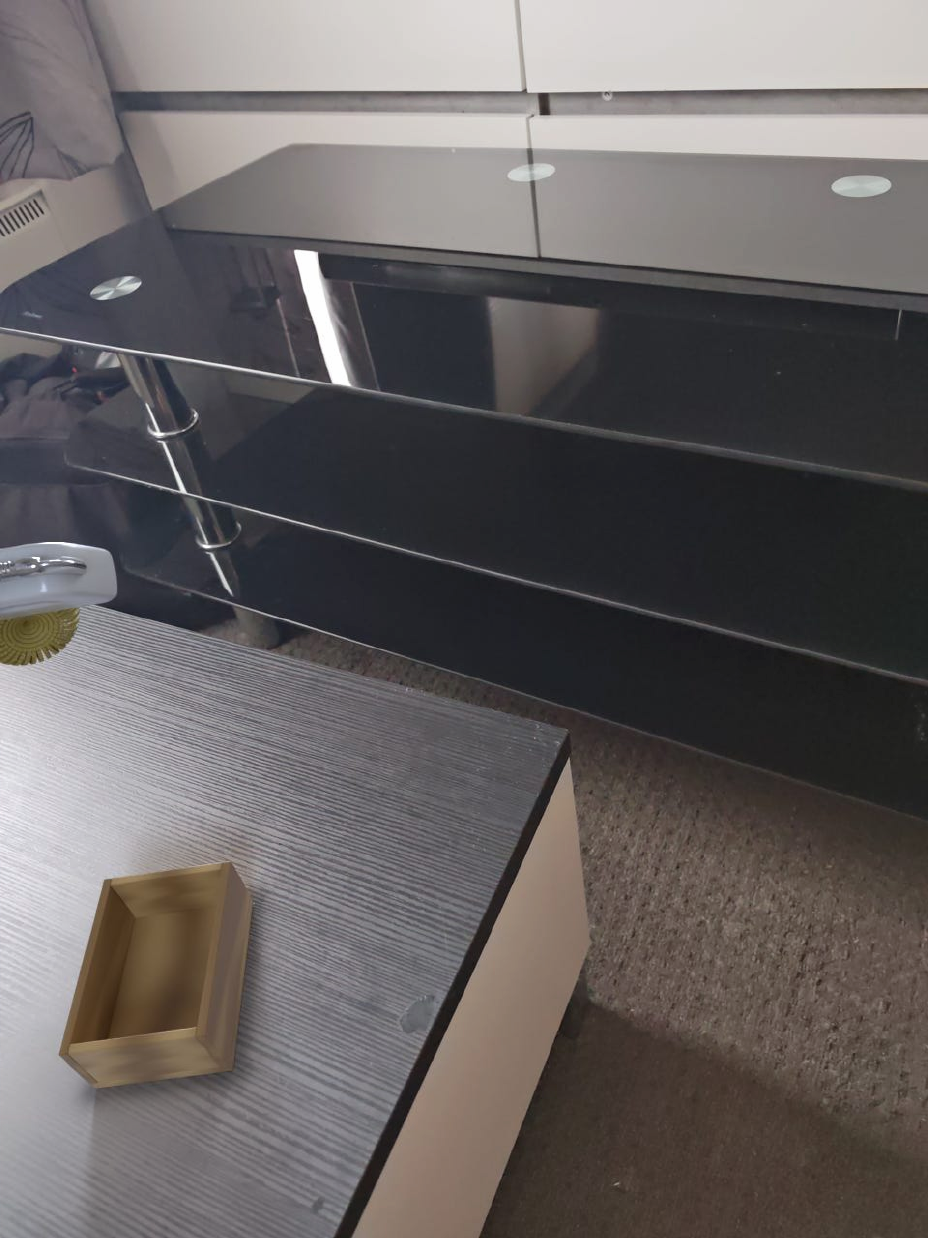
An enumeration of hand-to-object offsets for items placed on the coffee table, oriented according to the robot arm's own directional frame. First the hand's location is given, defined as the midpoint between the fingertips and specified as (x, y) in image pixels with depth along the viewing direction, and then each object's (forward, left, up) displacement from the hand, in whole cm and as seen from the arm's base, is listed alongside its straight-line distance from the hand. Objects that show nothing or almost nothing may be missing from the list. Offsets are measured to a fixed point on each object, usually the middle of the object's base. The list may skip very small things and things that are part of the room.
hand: (20, 603), depth 70 cm
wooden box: (+10, -23, -18) cm, 31 cm away
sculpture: (0, -1, -5) cm, 5 cm away
